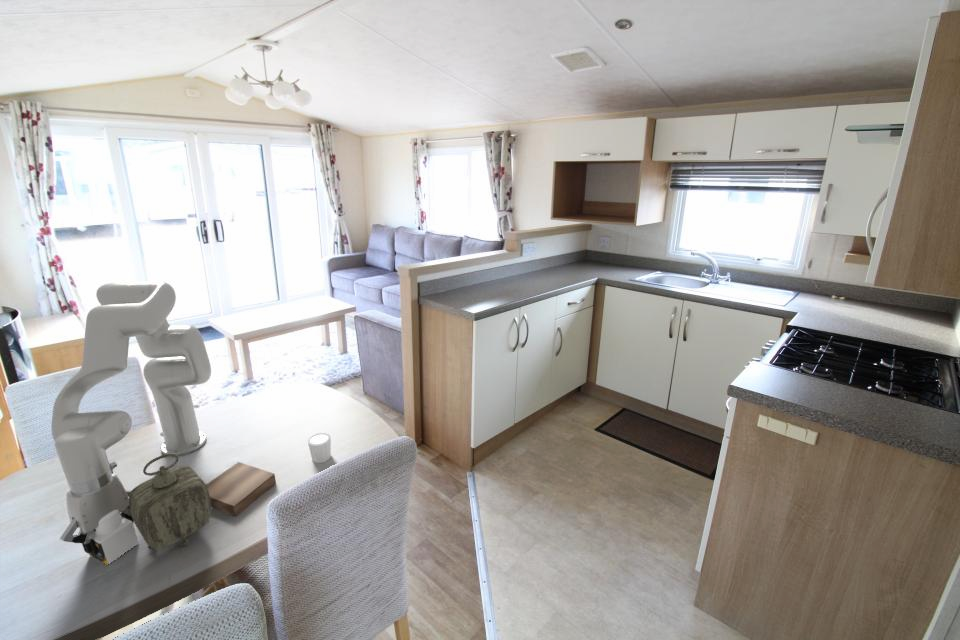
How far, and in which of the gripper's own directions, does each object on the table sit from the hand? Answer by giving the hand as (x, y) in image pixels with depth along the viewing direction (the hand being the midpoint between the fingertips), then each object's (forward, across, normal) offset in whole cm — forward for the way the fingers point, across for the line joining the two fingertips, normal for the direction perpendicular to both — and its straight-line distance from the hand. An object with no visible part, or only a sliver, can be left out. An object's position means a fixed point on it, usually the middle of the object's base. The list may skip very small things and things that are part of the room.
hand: (111, 539), depth 107 cm
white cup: (+4, -48, +22) cm, 53 cm away
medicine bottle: (+4, 0, 0) cm, 4 cm away
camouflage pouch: (+4, -8, +12) cm, 15 cm away
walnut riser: (+3, -26, +11) cm, 28 cm away
